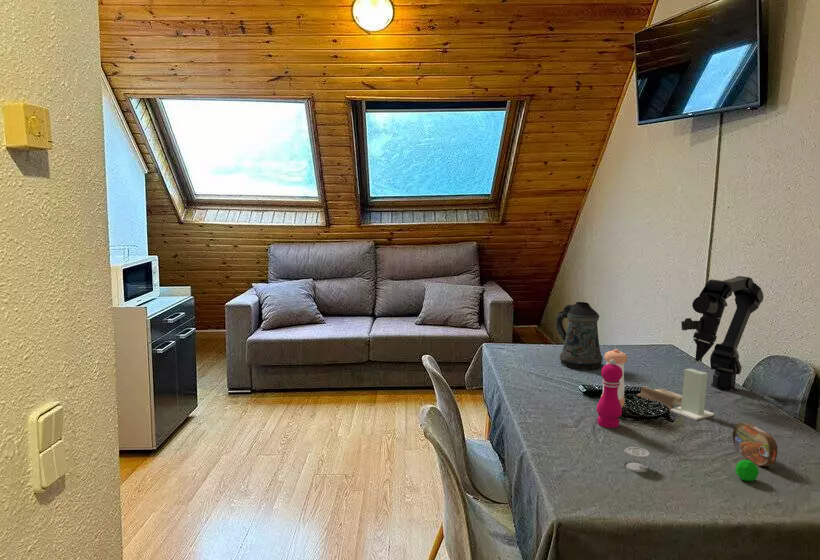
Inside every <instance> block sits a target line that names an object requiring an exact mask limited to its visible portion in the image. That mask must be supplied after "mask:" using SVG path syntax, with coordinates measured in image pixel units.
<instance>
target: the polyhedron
mask: <svg viewBox="0 0 820 560" xmlns="http://www.w3.org/2000/svg"><path fill="white" fill-rule="evenodd" d="M735 474H736V475H737V476H738V477H739V478H740V479H741V480H742V481H745V482H753V481H754V480H757V478H758V477H759V474H760V469H759V467H758V465H756V464H755V463H753V462H752V461H750V460H749V459H743V460H740V461H738V462H737V463H736V465H735Z"/></svg>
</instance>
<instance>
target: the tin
mask: <svg viewBox="0 0 820 560" xmlns="http://www.w3.org/2000/svg"><path fill="white" fill-rule="evenodd" d="M732 442H733V446H734V448H735V450H736V452H738V453H739V454H740V455H741V456H743V457H745V458H746V459H747V460H750V461H752V462H753V463H754V464H755V465H756V466H757V467H758V466H760V467H765V466H767V467H770V466H772V465H773V464H775V463H776V461H777V457H778V445H777V442H776V440H775V438H774V437H773V435H772V434H769V433H768V432H766V431H764V430H762V429H761V428H759V427H758V426H755V425H754V424H752V423H744V422H739V423H737V424H735V426H734V428H733V431H732Z"/></svg>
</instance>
